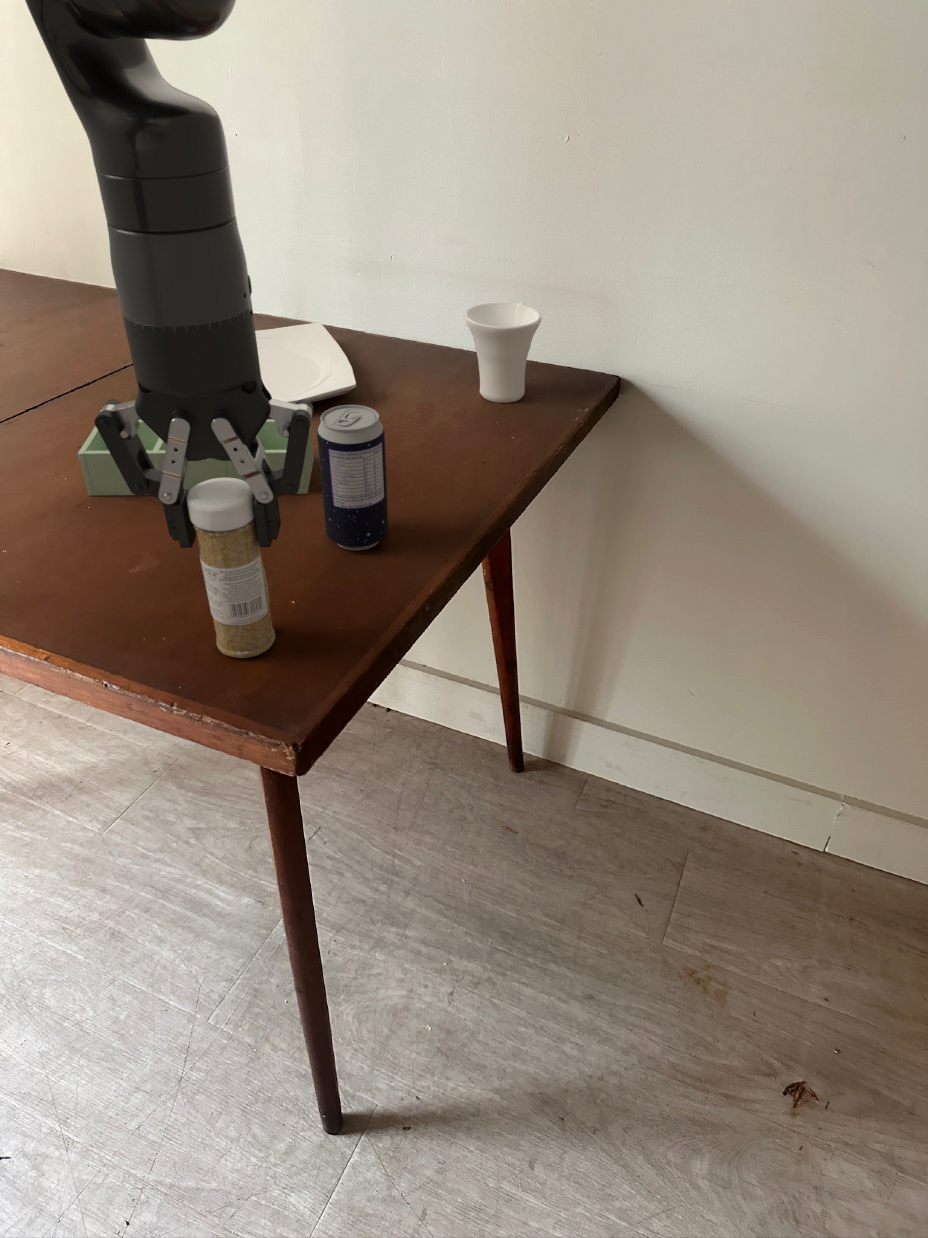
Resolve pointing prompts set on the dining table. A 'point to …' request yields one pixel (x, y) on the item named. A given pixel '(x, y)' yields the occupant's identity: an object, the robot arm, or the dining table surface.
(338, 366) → the plate
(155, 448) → the tray
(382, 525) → the beverage can
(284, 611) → the dining table surface
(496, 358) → the cup
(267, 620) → the spice jar
